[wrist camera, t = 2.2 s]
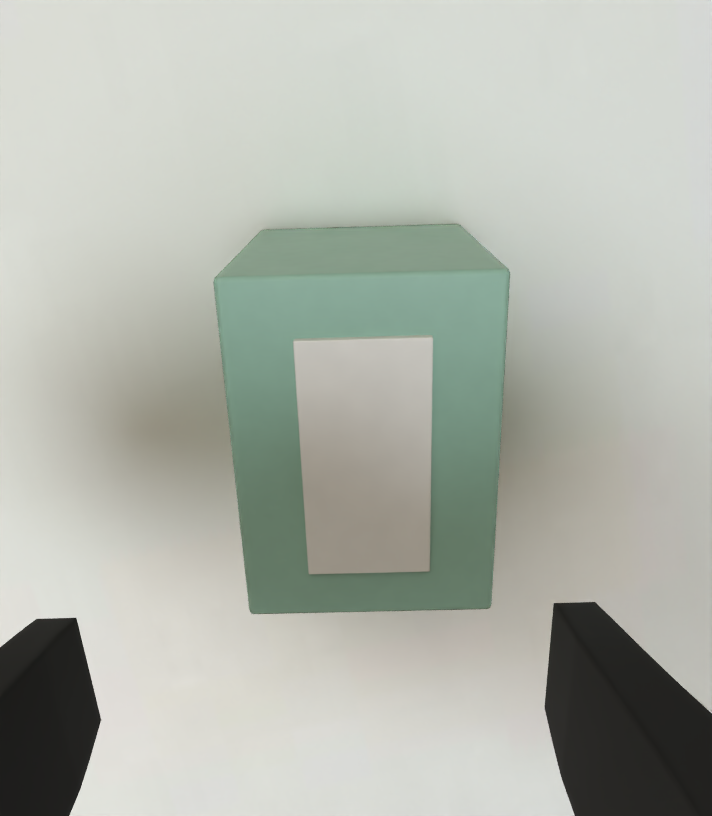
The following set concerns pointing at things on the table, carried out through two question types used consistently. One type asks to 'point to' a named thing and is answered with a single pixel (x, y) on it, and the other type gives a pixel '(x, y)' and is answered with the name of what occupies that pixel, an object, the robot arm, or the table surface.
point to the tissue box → (365, 416)
